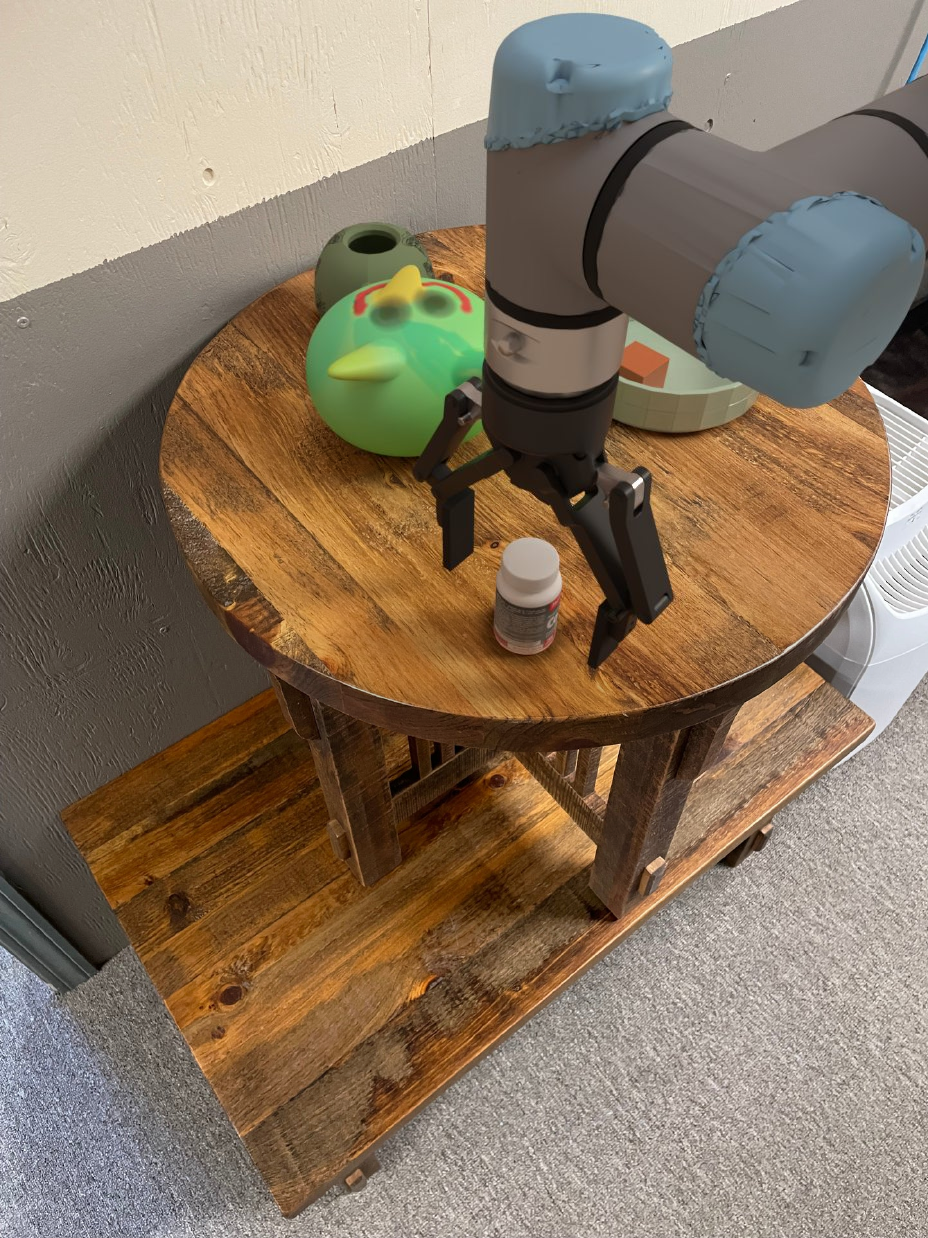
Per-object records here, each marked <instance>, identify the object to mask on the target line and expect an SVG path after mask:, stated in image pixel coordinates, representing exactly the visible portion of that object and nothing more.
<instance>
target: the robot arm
mask: <svg viewBox="0 0 928 1238" xmlns="http://www.w3.org/2000/svg"><path fill="white" fill-rule="evenodd" d="M659 35H660V34H659V33H658V32H657V31H655V29H654V28H653V27H651V26H649V25H647V24H645V23H643V22H641V21H638V20H635V19H631V18H628V17H624V16H619V15H614V14H606V13H598V12H568V13H559V14H552V15H548V16H543V17H540V18H537V19H534V20H531V21H528V22H525V23H523V24H521V25H520V26H518V27H516V28H514V29H513V30H512V31H511V32H510V33H508V35H506V36H505V37H504V39H503V40H502V41H501V43H500V44H499V46H498V48H497V50H496V52H495V55H494V60H493V64H492V73H491V84H490V94H489V106H488V116H487V127H486V134H485V136H484V138H483V147H484V149H485V150H486V176H485V178H486V179H485V180H486V181H485V183H486V184H485V186H486V187H485V249H484V285H485V286H484V302H485V303H484V341H483V348H484V356H485V358H484V361H483V365H482V380H481V379H480V378H479V377H476V376H473V377H472V378H470V379H469V380H467V381H466V382H464V383H463V384H461V385H460V386H458V387H457V388H456V389H454V390H453V391H452V392H450V393H449V394H447V395H446V396H445V402H444V413H443V419H442V421H441V422H440V424H439V426H438V427H437V429H436V431H435V432H434V434H433V436H432V437H431V439H430V441H429V442H428V444H427V446H426V447H425V449H424V451H423V452H422V454H421V456H418V459H417V460H416V462H415V463H414V466H413V467H412V469H411V475H412V477H413V479H414V480H415V481H416V482H418V483H419V484H420V483H421V484H422V483H423V484H424V482H426V483H427V484H428V485H429V486H430V487H431V488H430V493H431V495H432V497H433V498H434V499H435V519H436V523H437V525H438V526H439V527H440V528H441V534H442V539H441V540H442V541H441V542H442V568H444V569H445V570H447V571H448V572H449V573H450V572H452V571H453V570H454V569H456V568H457V567H458V566H459V565H461V564H462V563H463V562H464V561H466V560H467V559H468V558H469V557H470V556H471V555H472V554H474V552H475V511H476V509H475V507H476V506H475V505H476V503H475V502H476V495H475V494H476V490H474V489H473V488H471V486H473V485H475V484H477V483H479V482H480V481H482V480H486V479H489V478H491V477H492V476H494V475H496V474H498V473H500V472H501V471H503V472H504V474H505V475H506V476H507V477H508V478H509V483H510V484H511V485H513V486H514V487H516V488H517V489H521V490H523V491H525V492H529V493H530V494H531V495H532V496H533V497H535V498H536V499H537V500H538V501H539V502H541V503H543V504H545V505H546V506H548V507H550V508H551V510H552V511H553V513H554V516H555V517H556V520H557V521H558V523H559V524H560V526H562V527H564V528H565V527H566V528H569V530H570V531H571V533H572V536H573V537H574V539H575V541H576V543H577V545H578V548H579V549H580V551H581V553H582V555H583V556H584V558H585V560H586V563H587V564H588V566H589V568H590V570H591V572H592V575H593V576H594V578H595V580H596V581H597V582H596V583H597V584H598V585H599V587H600V589H601V591H602V593H603V595H604V597H605V599H604V600H603V601H602V602H601V603H600V604H599V605H598V607H597V611H596V617H595V622H594V627H593V633H592V637H591V642H590V647H589V652H588V657H587V661H586V665H588V666H589V667H590V668H592V669H593V670H595V671H597V669H598V668H599V667H600V666H601V665H602V664H604V662H605V661H606V660H607V659H608V658H609V657H610V656H611V655H612V654H613V653H614V652H615V650H617V648H619V645H620V644H621V642H623V641H624V640H625V639H626V638H627V637H628V636H629V635H630V634H631V633H632V632H633V631H634V630H635V628H636V627H637V622H638V621H639V622H640V623H642V624H643V625H646V626H649V625H652V624H653V623H654V622H655V621H656V619H658V617H659V616H660V615H661V614H662V613H663V612H664V611H665V610H666V609H667V608H668V607H669V606H670V605H671V603H672V602H674V600H675V594H674V591H673V587H672V583H671V580H670V576H669V572H668V567H667V563H666V560H665V557H664V553H663V548H662V543H661V540H660V536H659V533H658V529H657V528H658V527H657V525H656V520H655V517H654V513H653V509H652V506H651V494H652V483H653V475H652V473H651V471H650V470H649V469H648V468H646V467H645V466H643V465H637V466H636V467H635V468H634V469H632V471H630V472H629V471H626V470H624V469H622V468H620V467H617V466H615V465H613V464H611V463H609V459H608V455H607V453H606V449H605V448H606V447H605V445H606V439H607V436H608V434H609V431H610V427H611V425H612V421H613V418H612V416H613V410H614V405H615V399H616V393H617V387H618V382H619V368H620V366H621V364H622V361H623V355H624V349H625V342H626V336H627V330H628V324H629V317H631V318H633V319H635V320H636V321H638V322H639V323H641V324H642V325H644V326H646V327H647V328H649V329H650V330H652V331H654V332H655V333H657V334H658V335H660V336H661V337H663V338H665V339H666V340H668V341H669V342H671V343H673V344H674V345H676V346H677V347H679V348H680V349H682V350H684V351H685V352H687V353H688V354H690V355H692V356H693V357H695V358H696V359H698V360H700V361H701V362H703V363H704V364H706V367H707V368H708V369H709V370H710V371H714V372H715V374H716V375H718V376H719V377H721V378H722V379H724V378H727V379H729V380H730V381H732V382H734V383H735V382H740V383H742V384H744V385H746V386H748V387H749V388H751V389H753V390H755V391H757V392H759V393H760V395H763V396H765V397H767V398H769V399H771V400H772V401H774V402H776V403H778V404H780V405H782V406H784V407H787V408H790V409H796V410H809V409H814V408H817V407H821V406H823V405H825V404H828V403H830V402H832V401H833V400H835V399H837V398H838V397H839V396H841V395H842V394H844V393H845V392H846V391H848V390H849V389H850V388H851V387H852V386H853V385H854V384H855V383H856V381H858V378H859V377H860V376H861V374H862V373H863V372H864V370H865V369H866V368H867V367H869V366H872V365H873V364H874V363H875V362H876V361H877V360H878V358H879V357H880V356H881V355H882V353H883V352H884V351H885V349H886V348H887V347H888V345H889V344H890V342H891V341H892V339H893V338H894V336H895V335H896V333H897V332H898V330H899V329H900V327H901V325H902V323H903V322H904V320H905V318H906V317H907V314H908V312H909V311H910V308H911V306H912V304H913V301H914V300H915V298H916V296H917V293H918V291H919V289H920V285H921V282H922V279H923V276H924V271H925V269H926V268H927V267H928V72H927V73H925V74H924V75H921V76H918V77H916V78H914V79H913V80H911V81H909V82H908V83H906V84H905V85H903V86H901V87H899V88H897V89H895V90H892V91H891V92H888V93H887V94H885V95H882V96H880V97H878V98H876V99H874V100H873V101H870V102H868V103H866V104H864V105H863V106H860V107H858V108H856V109H854V110H853V111H850V112H848V113H844V114H842V115H840V116H837V117H834V118H833V119H831V120H829V121H827V122H826V123H824V124H821V125H819V126H817V127H815V128H812V129H810V130H808V131H805V132H804V133H802V134H799V135H797V136H795V137H792V138H790V139H788V140H786V141H784V142H782V143H779V144H777V145H775V146H773V147H771V148H769V149H767V150H764V151H760V150H759V151H758V150H751V149H748V148H746V147H743V146H741V145H739V144H737V143H734V142H732V141H729V140H727V139H725V138H723V137H720V136H717V135H716V134H713V133H710V132H708V131H706V130H703V129H701V128H699V127H696V126H695V125H693V124H692V123H691V122H689V121H687V120H684V119H682V118H680V117H677V116H676V115H673V114H672V113H671V112H669V109H668V108H669V106H670V104H671V101H672V97H673V95H674V93H675V91H674V90H673V88H672V75H673V68H674V67H673V66H674V56H673V52H672V49H671V46H670V45H669V44H668V42H667V41H666V40H665V39H664V38H663V37H660V36H659ZM480 419H482V426H483V429H484V430H483V432H484V433H485V436H486V438H487V440H488V443H489V444H490V446H491V448H489V449H487V450H486V451H484V452H482V453H481V454H479V455H477V456H476V457H473V458H472V459H471V460H470V459H469V461H466V462H465V463H462V464H460V465H459V466H458V467H456V468H455V469H453V470H452V468H450V467H449V466H448V463H449V462H450V461H451V459H452V457H453V456H454V454H455V453H456V452H457V450H458V448H459V446H461V445H462V444H461V442H462V441H463V439H464V438H465V436H466V435H467V433H468V432H469V431H470V429H471V428H472V426H473V425H474V424H475V423H476V422H477V421H479V420H480ZM460 444H461V445H460ZM582 493H584V495H583V496H582V497H581V499H579V500H577V502H576V503H574V504H572V502H571V499H573V498H575V497H577V496H579V495H580V494H582Z"/></svg>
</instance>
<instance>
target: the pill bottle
mask: <svg viewBox="0 0 928 1238" xmlns="http://www.w3.org/2000/svg"><path fill="white" fill-rule="evenodd" d="M562 577H563V576H562V574H561V572H560V556H559V552H558V551H557V549H556V548H555V547H554V546H553V545H552V544H551V543H549V542H548V541H546V540H545V539H541V538H539V537H529V536H528V537H521V538H518V539H515V540H513V541H511V542H510V543H509V544H507V546H506V547H505V548H504V549H503V551H502V555H501V561H500V567H499V569H498V571H497V573H496V577H495V596H494V597H495V598H494V601H495V602H494V617H493V618H494V619H493V620H494V621H493V633H494V635H495V639H496V640H497V642H498V643H499V645H500V646H501V647H503V648H504V649H505V650H508V651H509V652H511V653H514V654H518V655H527V656H528V655H535V654H538V653H540V652H543V651H544V650H547V648H549V647H550V645H551V644H552V643H553V641H554V639H555V636H556V633H557V626H558V618H559V611H560V604H561V597H562V590H563V578H562Z"/></svg>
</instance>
